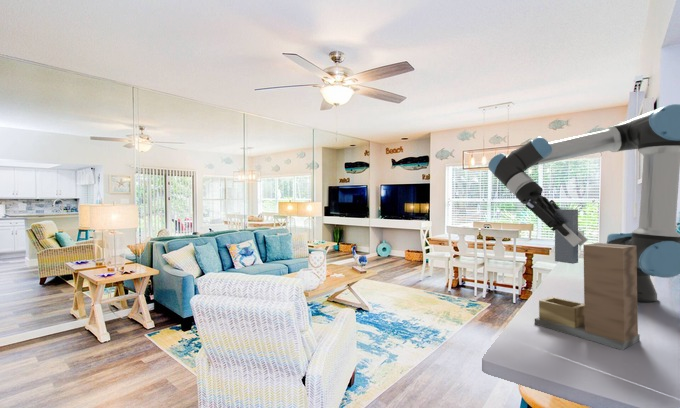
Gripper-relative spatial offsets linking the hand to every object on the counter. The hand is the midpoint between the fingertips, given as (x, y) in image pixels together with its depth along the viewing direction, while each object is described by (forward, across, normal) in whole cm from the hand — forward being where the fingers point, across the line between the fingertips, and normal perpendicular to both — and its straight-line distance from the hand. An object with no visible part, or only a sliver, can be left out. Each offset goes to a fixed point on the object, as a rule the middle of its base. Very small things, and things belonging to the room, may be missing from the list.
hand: (580, 242), depth 97 cm
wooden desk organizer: (+19, +10, -12) cm, 25 cm away
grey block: (+2, 0, -7) cm, 7 cm away
